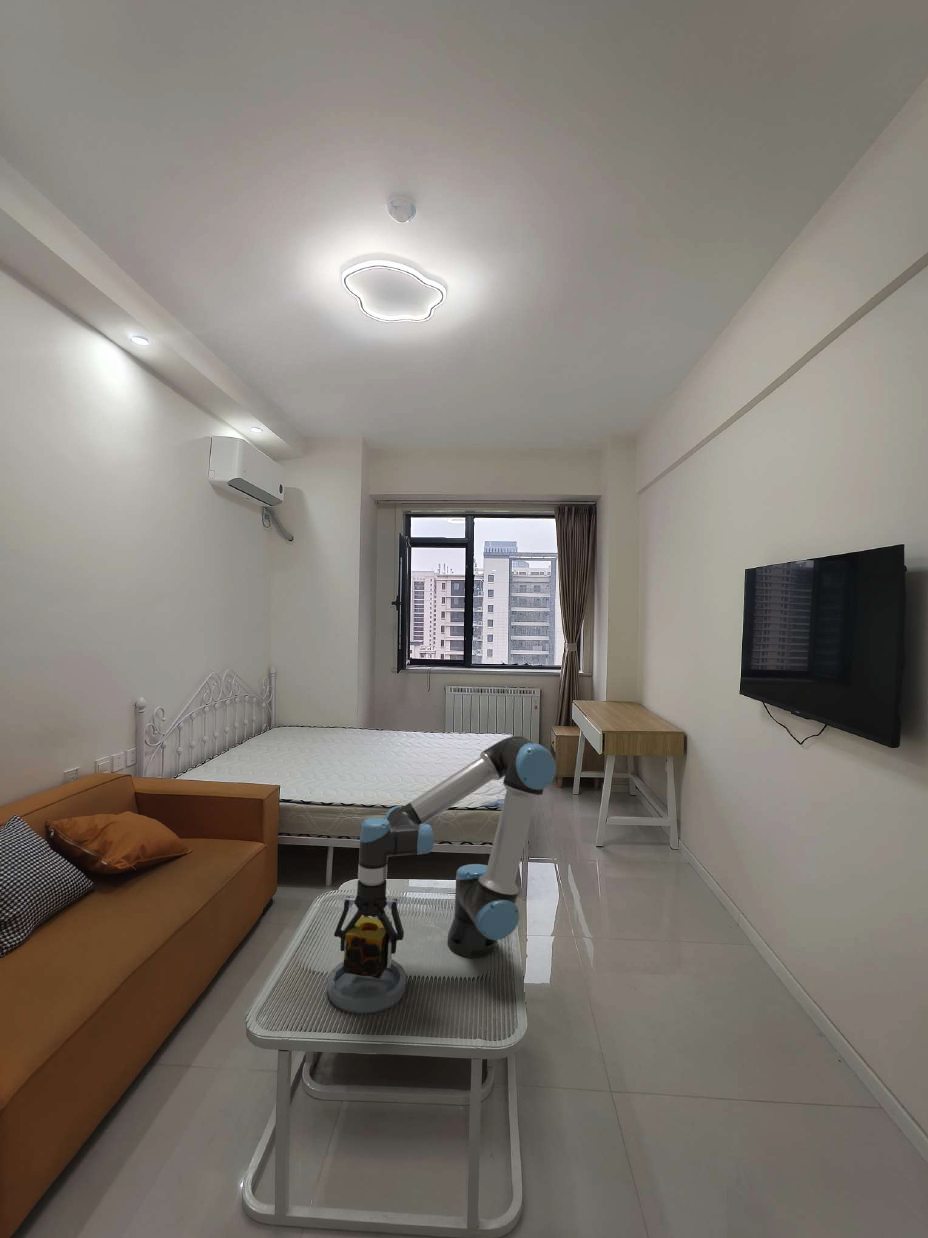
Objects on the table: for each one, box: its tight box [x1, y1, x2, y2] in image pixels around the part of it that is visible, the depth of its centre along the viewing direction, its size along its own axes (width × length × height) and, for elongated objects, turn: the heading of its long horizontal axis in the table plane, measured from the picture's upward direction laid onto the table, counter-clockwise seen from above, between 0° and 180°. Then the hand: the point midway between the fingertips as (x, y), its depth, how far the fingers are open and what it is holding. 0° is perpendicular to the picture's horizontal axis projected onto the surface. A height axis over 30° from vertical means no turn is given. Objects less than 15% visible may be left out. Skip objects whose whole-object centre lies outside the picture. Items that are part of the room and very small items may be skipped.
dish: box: [326, 958, 407, 1015], centre depth 154 cm, size 20×20×3 cm
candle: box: [343, 916, 393, 978], centre depth 154 cm, size 10×10×10 cm
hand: (367, 964), depth 154 cm, fingers closed on candle, 11 cm apart
